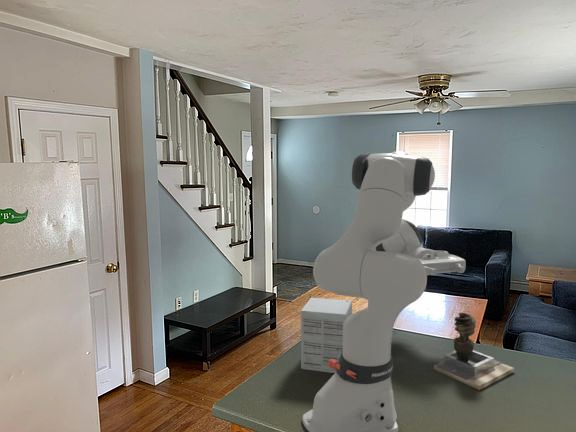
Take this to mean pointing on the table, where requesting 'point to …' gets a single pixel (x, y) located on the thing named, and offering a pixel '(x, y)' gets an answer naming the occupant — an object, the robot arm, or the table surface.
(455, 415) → the table surface
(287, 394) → the table surface
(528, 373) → the table surface
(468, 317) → the light bulb
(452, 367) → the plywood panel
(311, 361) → the supplement box
